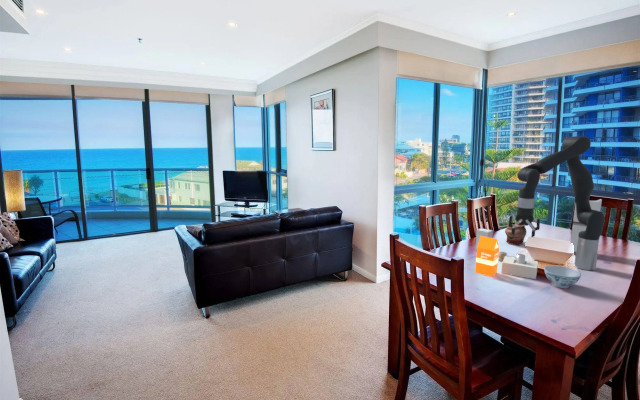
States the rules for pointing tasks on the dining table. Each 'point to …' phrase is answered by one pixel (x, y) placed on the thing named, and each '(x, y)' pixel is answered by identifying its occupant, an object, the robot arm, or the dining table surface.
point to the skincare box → (483, 233)
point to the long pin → (520, 259)
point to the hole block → (519, 267)
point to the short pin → (502, 256)
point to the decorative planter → (516, 234)
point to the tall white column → (581, 227)
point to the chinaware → (562, 275)
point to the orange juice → (487, 256)
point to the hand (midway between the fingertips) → (522, 235)
